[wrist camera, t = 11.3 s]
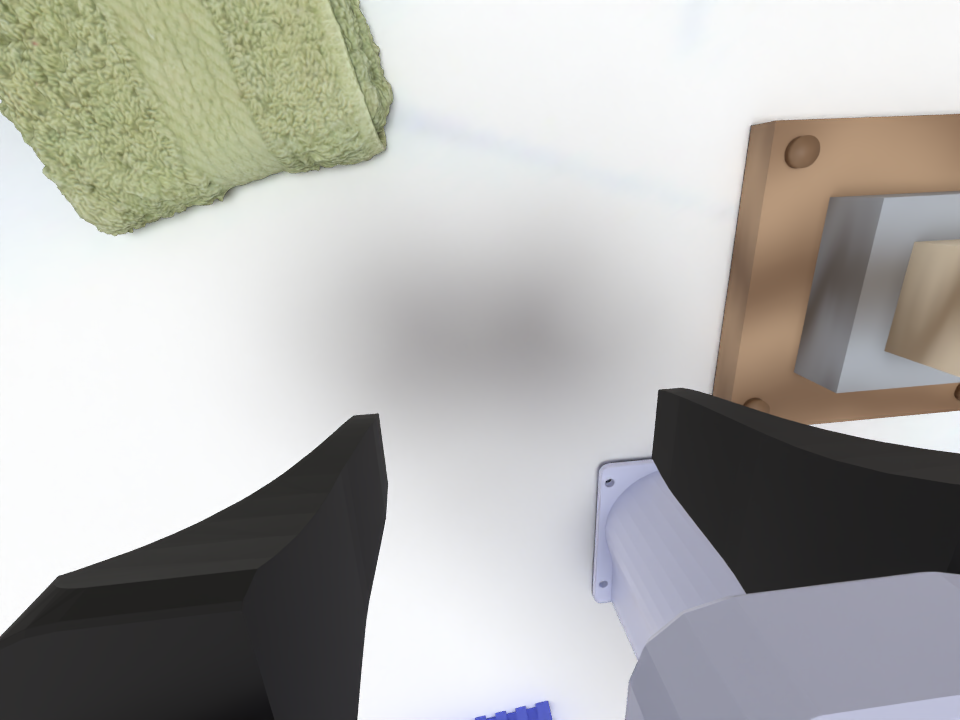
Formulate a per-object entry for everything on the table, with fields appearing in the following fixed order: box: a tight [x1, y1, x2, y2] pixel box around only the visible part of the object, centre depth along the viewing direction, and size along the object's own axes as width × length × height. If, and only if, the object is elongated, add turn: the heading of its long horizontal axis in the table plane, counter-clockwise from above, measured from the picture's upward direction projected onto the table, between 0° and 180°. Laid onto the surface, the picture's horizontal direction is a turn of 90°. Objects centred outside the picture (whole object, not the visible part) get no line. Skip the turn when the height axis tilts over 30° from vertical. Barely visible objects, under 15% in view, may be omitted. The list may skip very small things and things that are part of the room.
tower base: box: [712, 114, 960, 425], centre depth 21 cm, size 14×14×4 cm
